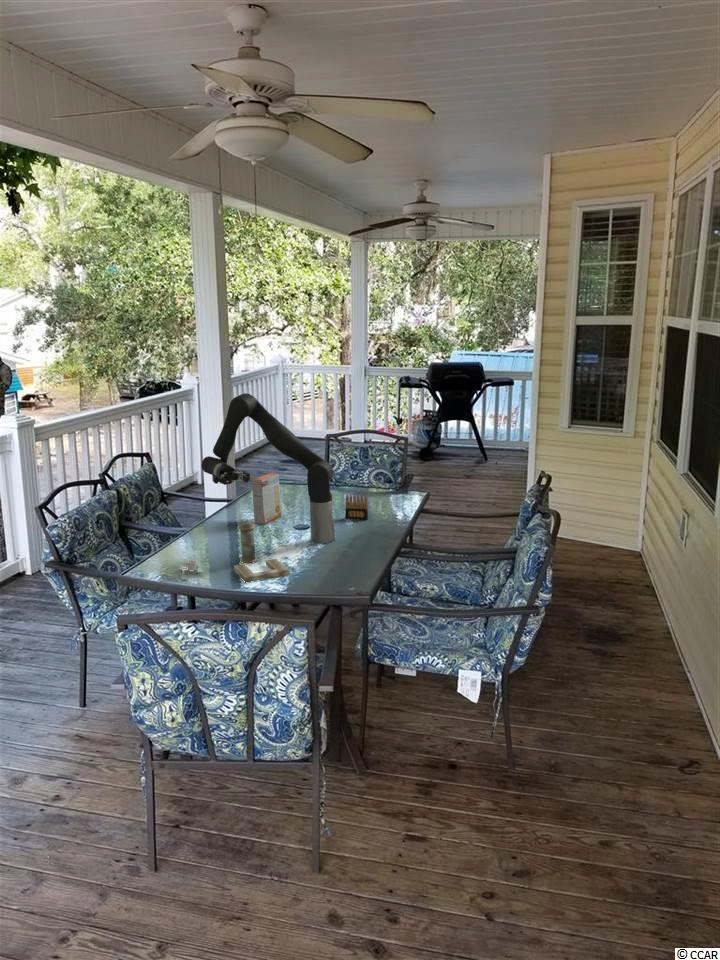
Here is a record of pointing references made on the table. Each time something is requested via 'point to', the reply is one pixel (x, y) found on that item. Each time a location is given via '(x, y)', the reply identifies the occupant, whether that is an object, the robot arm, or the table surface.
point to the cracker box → (266, 498)
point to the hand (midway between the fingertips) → (236, 481)
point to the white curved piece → (190, 565)
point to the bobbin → (247, 543)
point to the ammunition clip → (354, 512)
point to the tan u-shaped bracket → (272, 564)
